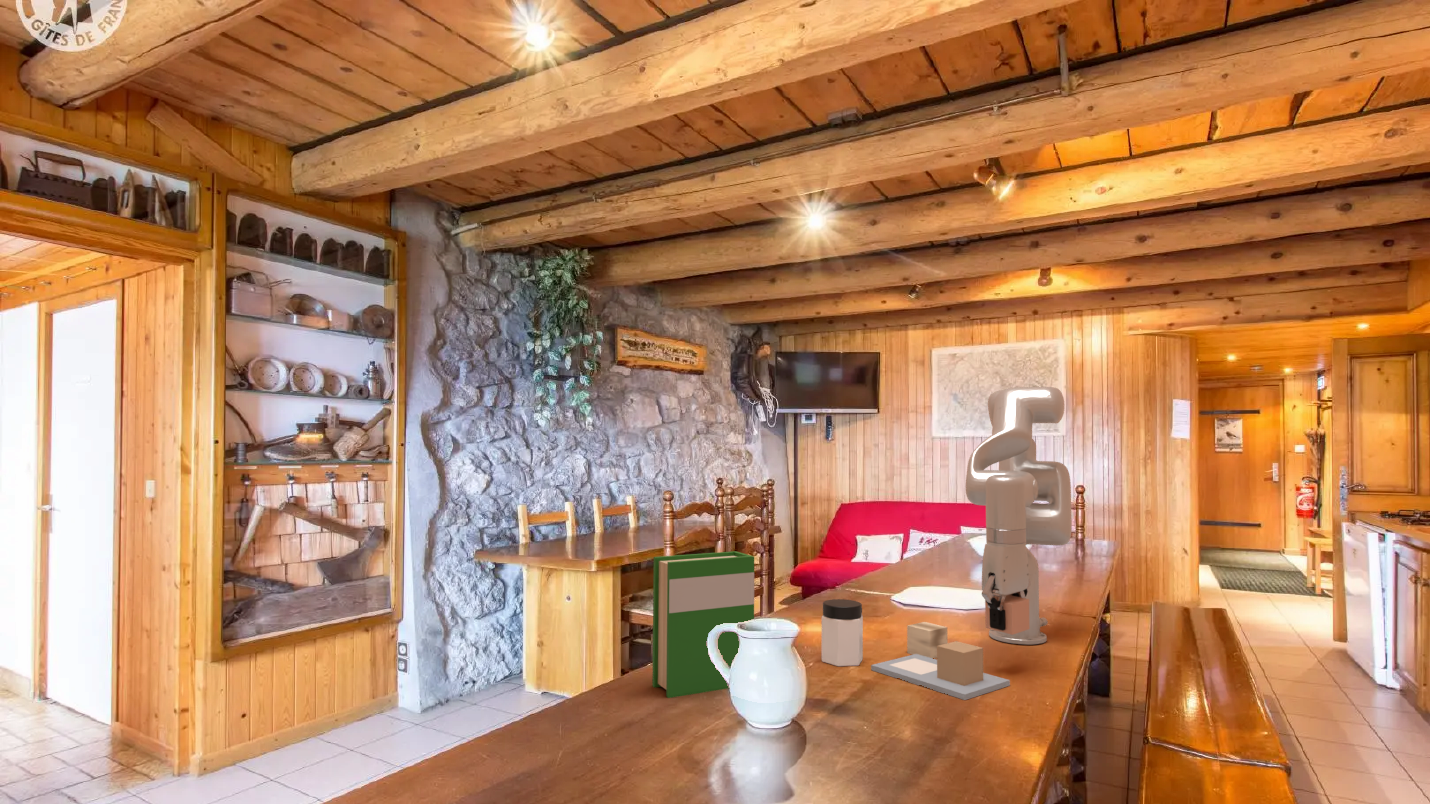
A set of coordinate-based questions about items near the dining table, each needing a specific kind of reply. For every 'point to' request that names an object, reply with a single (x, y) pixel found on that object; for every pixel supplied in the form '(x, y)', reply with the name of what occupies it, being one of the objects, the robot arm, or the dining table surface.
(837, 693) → the dining table surface
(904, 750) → the dining table surface
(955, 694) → the board
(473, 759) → the dining table surface
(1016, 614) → the terracotta block
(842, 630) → the jar
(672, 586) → the hardback book
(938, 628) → the birch block
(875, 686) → the dining table surface
